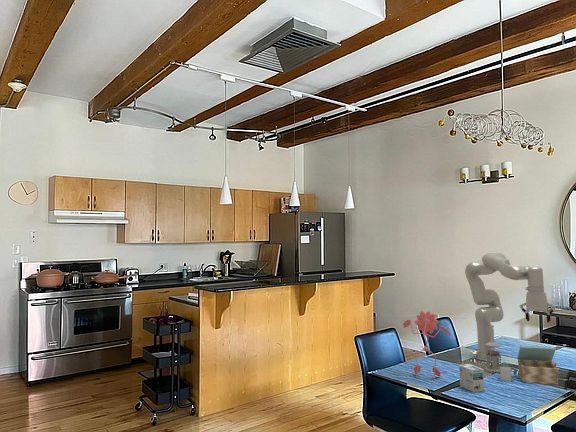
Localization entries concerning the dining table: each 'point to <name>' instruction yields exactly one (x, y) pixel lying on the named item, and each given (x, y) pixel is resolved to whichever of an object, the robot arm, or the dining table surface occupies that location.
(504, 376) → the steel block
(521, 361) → the storage box
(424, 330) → the figurine
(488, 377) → the dining table surface
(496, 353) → the french press
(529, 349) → the lid
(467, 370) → the light bulb box
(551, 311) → the robot arm
